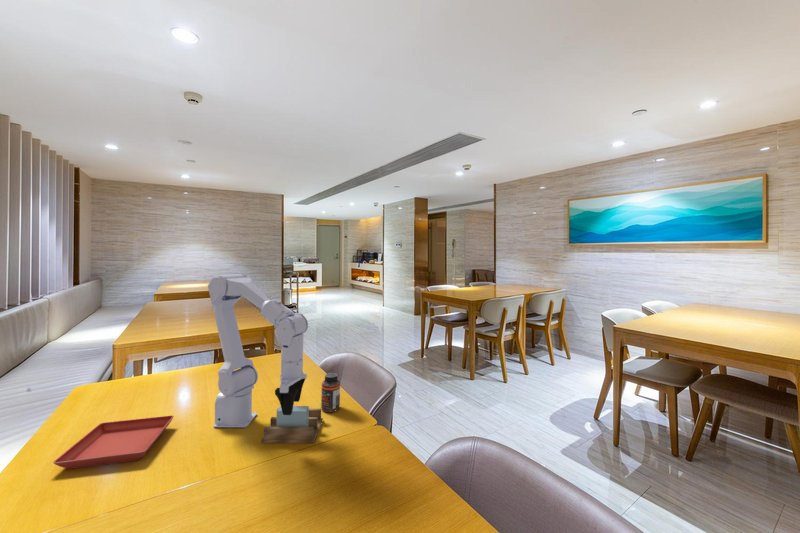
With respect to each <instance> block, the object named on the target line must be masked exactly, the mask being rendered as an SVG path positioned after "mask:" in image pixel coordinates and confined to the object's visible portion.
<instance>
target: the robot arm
mask: <svg viewBox="0 0 800 533" xmlns="http://www.w3.org/2000/svg"><path fill="white" fill-rule="evenodd" d="M207 289H208V293H209V297H210V298H209V299H210V301H211V306H212V309H213V315H214V319H215V323H216V324H215V325H216V328H217V332H218V337H219V341H220V346H221V350H222V355H223V360H224V363H223V364H222V365H221V367H220V368H219V369H218V371H217V375H218V382H217V386H218V390H219V393H218V394H217V395H216V397H215V401H214V424H213V428H247V427H248V426H249V425H250V424H251V422H252V421H253V419H255V417H256V416H257V414H258V413H257V412H253V410H252V409H253V395H252V394H253V390H254V389H255V385H256V384H257V382H258V380H259V372H258V371H257V369H256V367H255V365H254V362H253V360H252V359H249V358H248V357H246V356H245V352H244V348H243V342H242V340H241V334H240V330H239V326H238V321H237V318H236V312H235V308H234V307H235V304H236V303H237V302H238V301H239V300H240V299H242V298H245V299H246V300H247V301H249V302H250V304H251V303H252V305H255V307H257V308H259V309H260V315H261V316H262V317H263V318H264V319H265V320H266V321H268V322H269V323H271V325H273V326H274V327H275V328H276V333H277V336H278V337H279V343H280V345H281V351H280V352H281V353H280V355H281V356H280V376H279V381H280V384H279V387H276V388H275V390H274V395H275V396H276V398H277V400H278V401H279V404H280V406H281V409H282V413H283V415H291V414H292V410H293V406H294V403H295V402H298V403H299V402H300V399H301V396H302V395H301V394H302V392H303V388H304V387H303V386H304V385H305V384H304V383H305V380H306V379H307V378H308V374H307V373H304V334H305V333H306V332H307V330H308V327H309V323H308V320H307V317H305V315H304V314H302V313H300V312H299V313H298V312H297V313H296V312H294V311H293V310H291V309H289V308H287V307H286V306H285V305H284V304H283V303H282V301H281V300H280V299H276V298H275V299H274V298H273V299H269V297H268V296H267V295H266V294H264V292H262V290H260V289H259V288H258V287H257V286H256V284H253V280H252V278H251V277H249V276H248V275H247V274H246V273H237V274H236V273H235V274H223V275H220V274H215V275H214V276H212V278H211V279H210V281H209V282H208V284H207Z"/></svg>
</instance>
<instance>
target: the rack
mask: <svg viewBox="0 0 800 533" xmlns="http://www.w3.org/2000/svg"><path fill="white" fill-rule="evenodd" d="M277 410H278V408H277V409H276V411H277ZM322 420H323V421H324V418H323V417H322V409H321V408H309V427H277V416H272V417H270V421H269V422H270V424H269V425H270V426H264V428H263V437H262V439H261V441H260V442H261V444H315V443H316V440H315V439H317V437H318V435H319V432H320V429H321V427H322V424H323V422H322ZM321 423H322V424H321ZM320 426H321V427H320ZM319 428H320V429H319ZM318 431H319V432H318ZM317 434H318V435H317ZM314 442H315V443H314Z"/></svg>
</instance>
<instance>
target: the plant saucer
mask: <svg viewBox="0 0 800 533" xmlns="http://www.w3.org/2000/svg"><path fill="white" fill-rule="evenodd" d="M174 417H175V416H174V415H166V416H165V415H163V416H156V417H152V416H151V417H144V418H135V419H126V420H117V421H116V420H115V421H106V422H101V423H99V424H97V425H96V426H95V427H94V428H93V429H91V430H90V431H89V432H88V433H86V434H85V435H84V436H82V438H80V439H79V440H78V441H77V442H75V444H73V445H71V447H69V448H68V449H67V450H65V451H64V453H62V454H61V455H59V457H57V458H56V459H55V460H54V461H53V462H52V463H53V464H54V465H55V466H58V467H61V468H64V469H67V470H71V469H78V468H86V467H95V466H101V465H102V466H103V465H109V464H110V465H111V464H119V463H126V462H127V463H128V462H134V461H140V460H141V459H142V458H143V457H144V456H145V455H146V453H147V452H148V451H149V450H150V448H151V447H152V446H153V445H154V444H155V442H156V441H157V440H158V439H159V437H160V436H161V435H162V434H163V432H164V431H165V430H166V429H167V428H168V427H169V425H170V423H171V422H172V420H173V419H174Z"/></svg>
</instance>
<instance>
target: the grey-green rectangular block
mask: <svg viewBox="0 0 800 533" xmlns="http://www.w3.org/2000/svg"><path fill="white" fill-rule="evenodd" d="M277 409H278V410H277ZM277 409H276V417H277V427H309V409H310V406H309V405H293V410H292V414H291V415H283V413H282V409H281V405H280V406H279V407H278V408H277Z"/></svg>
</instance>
